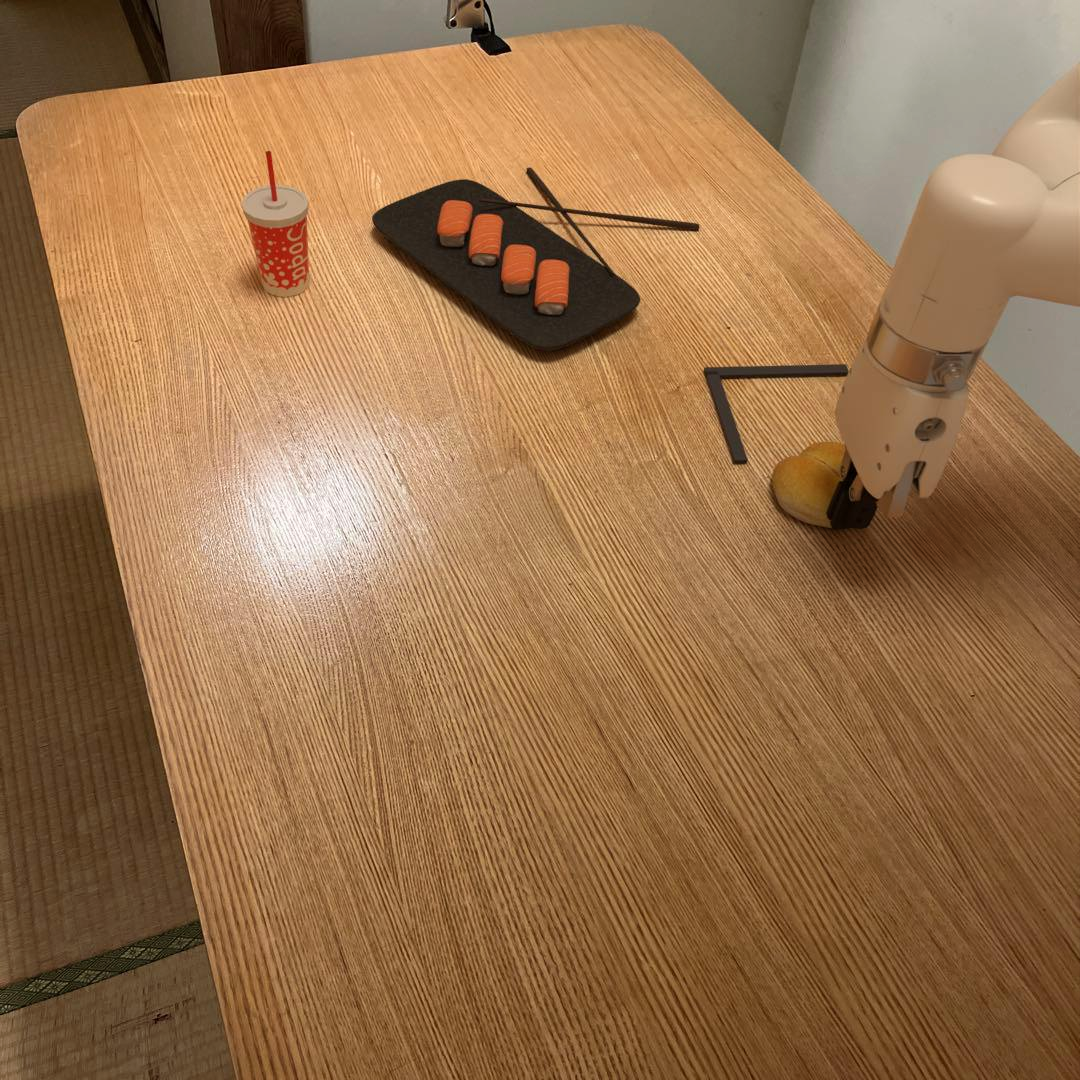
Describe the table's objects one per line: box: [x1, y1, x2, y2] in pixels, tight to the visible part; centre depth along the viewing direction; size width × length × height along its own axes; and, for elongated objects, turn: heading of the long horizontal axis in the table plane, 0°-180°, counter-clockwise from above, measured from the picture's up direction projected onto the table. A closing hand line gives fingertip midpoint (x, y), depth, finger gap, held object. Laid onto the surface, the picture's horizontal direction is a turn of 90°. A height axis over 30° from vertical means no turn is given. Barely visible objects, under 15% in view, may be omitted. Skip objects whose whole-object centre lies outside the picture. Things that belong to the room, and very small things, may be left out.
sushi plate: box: [371, 167, 700, 351], centre depth 113 cm, size 29×30×4 cm
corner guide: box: [703, 363, 850, 465], centre depth 99 cm, size 14×13×1 cm
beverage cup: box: [241, 150, 310, 298], centre depth 102 cm, size 6×6×14 cm
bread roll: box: [771, 441, 846, 529], centre depth 90 cm, size 8×9×4 cm
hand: (846, 521), depth 87 cm, fingers closed
